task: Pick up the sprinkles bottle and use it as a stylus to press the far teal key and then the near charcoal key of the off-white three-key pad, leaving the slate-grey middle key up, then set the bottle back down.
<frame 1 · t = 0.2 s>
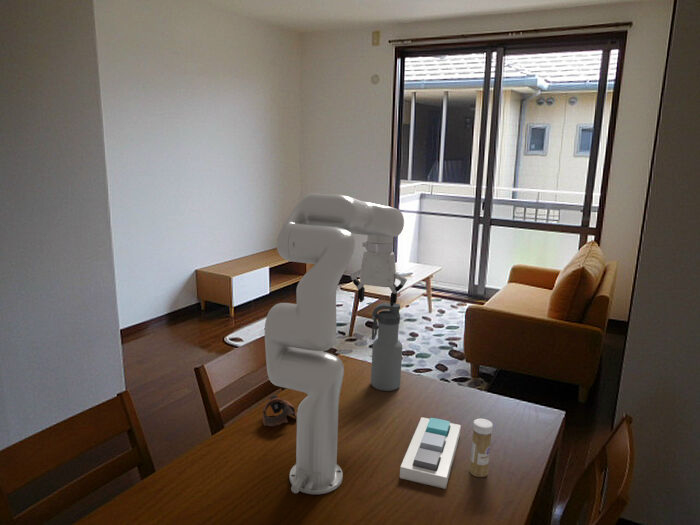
hand: (376, 303, 157), 31 cm above the table, tool pointing down, fingers open, 9 cm apart
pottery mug: (279, 421, 148), on the table
sprinkles bottle: (478, 472, 127), on the table
charcoal key: (426, 460, 126), point 3 cm above the table, slide at 0.0 cm
slate key: (432, 443, 133), point 3 cm above the table, slide at 0.0 cm
teal key: (438, 428, 140), point 3 cm above the table, slide at 0.0 cm
keypad frame: (432, 454, 134), on the table
water bottle: (384, 385, 172), on the table
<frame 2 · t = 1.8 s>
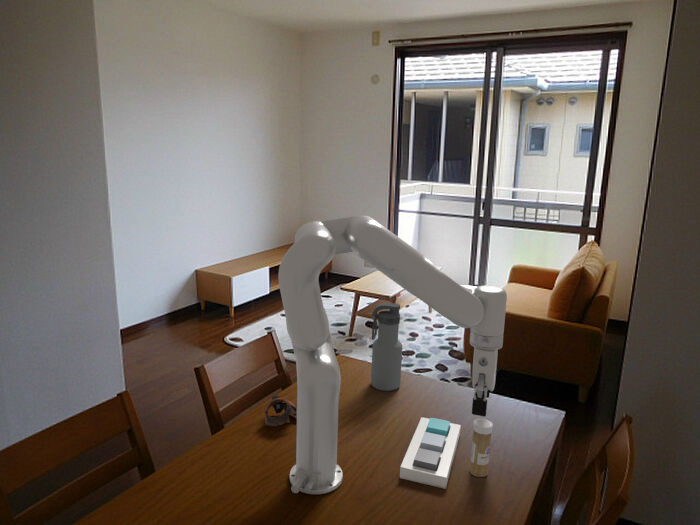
hand: (480, 405, 125), 17 cm above the table, tool pointing down, fingers open, 9 cm apart
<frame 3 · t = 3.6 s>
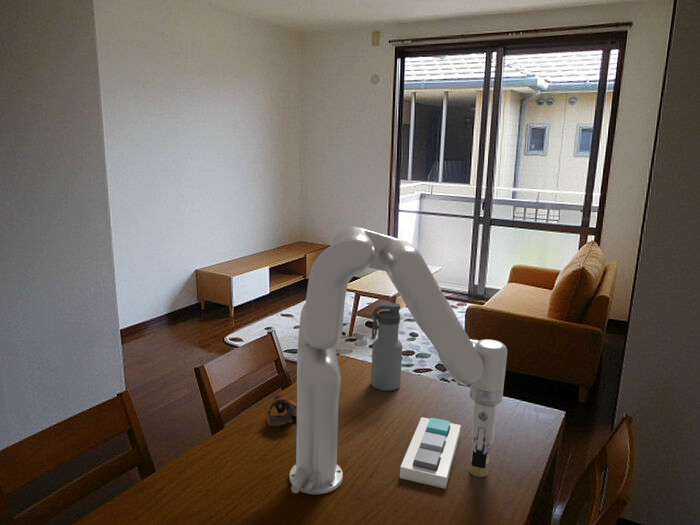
hand: (479, 460, 126), 3 cm above the table, tool pointing down, fingers closed on sprinkles bottle, 4 cm apart
sprinkles bottle: (478, 472, 127), on the table, touching gripper
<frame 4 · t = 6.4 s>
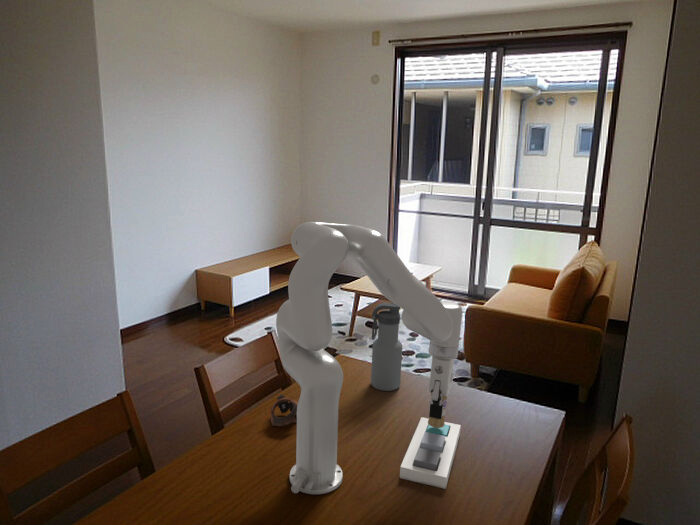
hand: (436, 412, 139), 8 cm above the table, tool pointing down, fingers closed on sprinkles bottle, 4 cm apart
sprinkles bottle: (435, 424, 140), point 4 cm above the table, touching gripper
teal key: (437, 432, 141), point 2 cm above the table, slide at 1.2 cm
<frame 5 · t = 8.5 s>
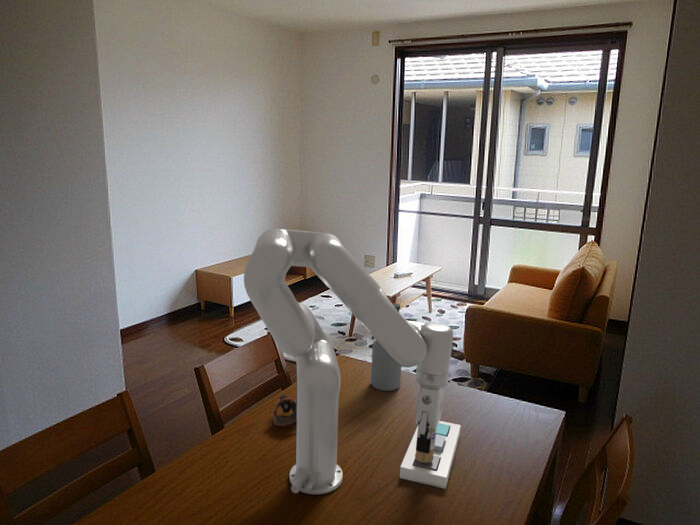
hand: (424, 445, 125), 7 cm above the table, tool pointing down, fingers closed on sprinkles bottle, 4 cm apart
sprinkles bottle: (424, 458, 125), point 4 cm above the table, touching gripper
charcoal key: (426, 464, 126), point 2 cm above the table, slide at 1.1 cm
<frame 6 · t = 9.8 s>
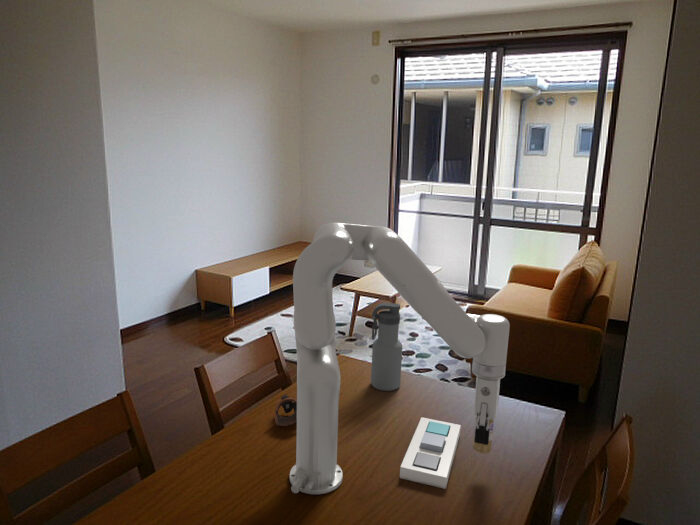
hand: (482, 436, 125), 10 cm above the table, tool pointing down, fingers closed on sprinkles bottle, 4 cm apart
sprinkles bottle: (481, 449, 126), point 6 cm above the table, touching gripper
when the fingers open (5 cm above the table, at t = 10.7 s): sprinkles bottle drops 1 cm, on the table.
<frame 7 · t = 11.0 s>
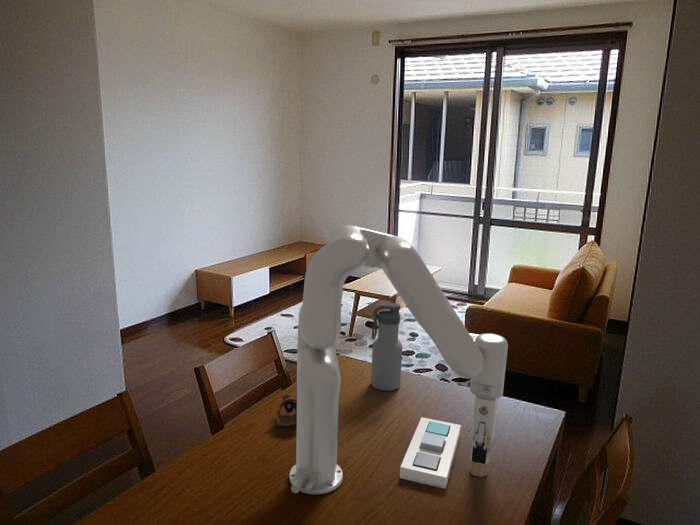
hand: (480, 453, 126), 5 cm above the table, tool pointing down, fingers open, 7 cm apart
sprinkles bottle: (477, 472, 127), on the table
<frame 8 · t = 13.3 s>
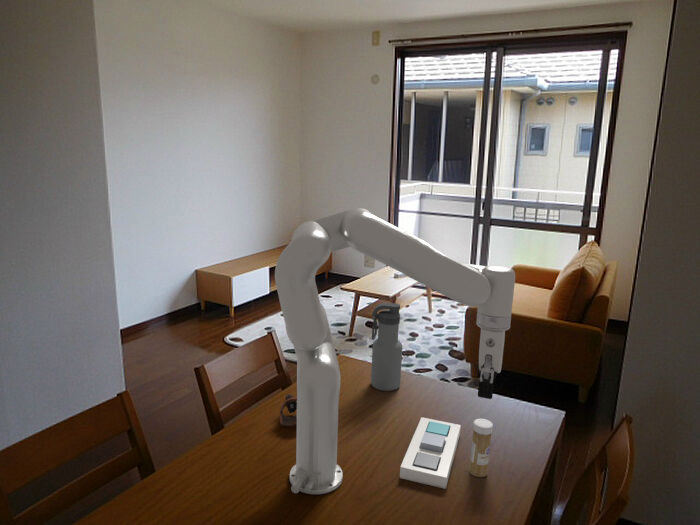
hand: (486, 388, 122), 22 cm above the table, tool pointing down, fingers open, 9 cm apart
at the end: teal key slide at 1.2 cm; charcoal key slide at 1.1 cm; slate key slide at 0.0 cm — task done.
